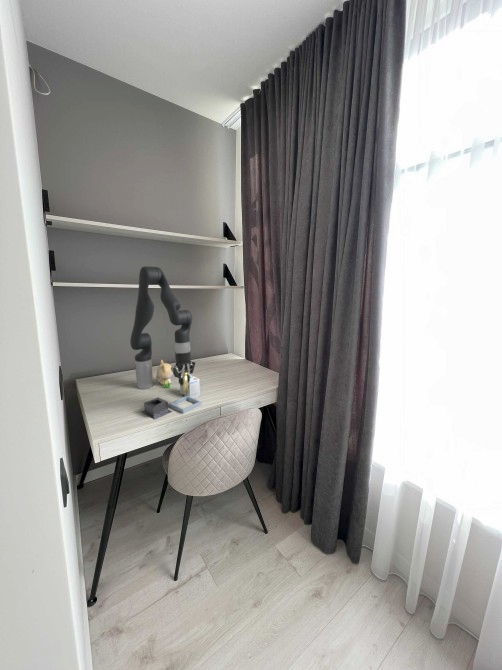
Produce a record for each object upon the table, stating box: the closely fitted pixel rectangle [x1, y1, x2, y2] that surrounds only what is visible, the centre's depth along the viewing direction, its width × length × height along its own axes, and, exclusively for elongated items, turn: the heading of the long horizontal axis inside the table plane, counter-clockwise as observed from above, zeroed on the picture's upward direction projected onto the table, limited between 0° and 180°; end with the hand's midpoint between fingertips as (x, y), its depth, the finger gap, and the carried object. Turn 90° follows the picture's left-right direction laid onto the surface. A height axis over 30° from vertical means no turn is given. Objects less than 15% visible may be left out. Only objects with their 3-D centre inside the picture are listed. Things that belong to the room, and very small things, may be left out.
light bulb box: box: [179, 374, 201, 399], centre depth 154 cm, size 11×7×11 cm, turn 45°
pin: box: [181, 371, 188, 394], centre depth 137 cm, size 4×4×11 cm
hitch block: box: [141, 397, 173, 421], centre depth 133 cm, size 12×10×6 cm
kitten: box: [155, 359, 174, 389], centre depth 169 cm, size 15×10×15 cm
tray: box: [168, 396, 202, 415], centre depth 140 cm, size 12×12×3 cm
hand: (184, 383), depth 137 cm, fingers closed on pin, 3 cm apart
